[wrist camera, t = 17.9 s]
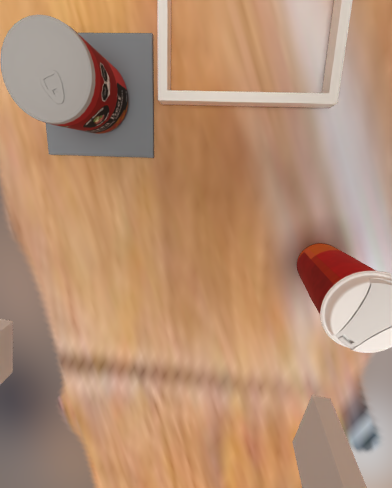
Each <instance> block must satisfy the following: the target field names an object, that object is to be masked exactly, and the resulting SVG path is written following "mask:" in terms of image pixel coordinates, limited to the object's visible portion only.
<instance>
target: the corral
mask: <svg viewBox="0 0 392 488" xmlns="http://www.w3.org/2000/svg"><path fill="white" fill-rule="evenodd" d="M352 1H353V0H334V4H333V12H332V19H331V27H330V34H329V42H328V49H327V57H326V65H325V72H324V80H323V87H322V93H288V92H232V91H177V90H171V0H158V101H159V102H160V103H161V104H164V105H212V106H259V107H307V108H330V107H332V106H334V105H336V104H337V103H338V96H339V89H340V83H341V76H342V69H343V62H344V55H345V49H346V42H347V35H348V28H349V21H350V15H351V8H352Z"/></svg>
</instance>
